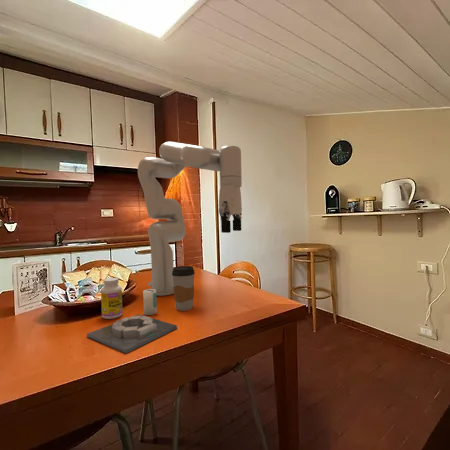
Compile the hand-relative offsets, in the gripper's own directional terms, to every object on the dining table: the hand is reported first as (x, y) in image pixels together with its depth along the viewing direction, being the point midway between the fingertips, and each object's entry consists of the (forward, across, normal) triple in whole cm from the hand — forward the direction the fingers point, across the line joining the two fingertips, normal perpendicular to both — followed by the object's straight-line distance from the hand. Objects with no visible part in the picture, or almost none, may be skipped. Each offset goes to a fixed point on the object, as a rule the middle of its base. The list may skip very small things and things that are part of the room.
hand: (231, 231), depth 99 cm
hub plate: (+28, +28, -20) cm, 45 cm away
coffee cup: (+28, +4, -18) cm, 34 cm away
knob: (+28, +13, -26) cm, 41 cm away
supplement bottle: (+28, +20, -37) cm, 51 cm away
